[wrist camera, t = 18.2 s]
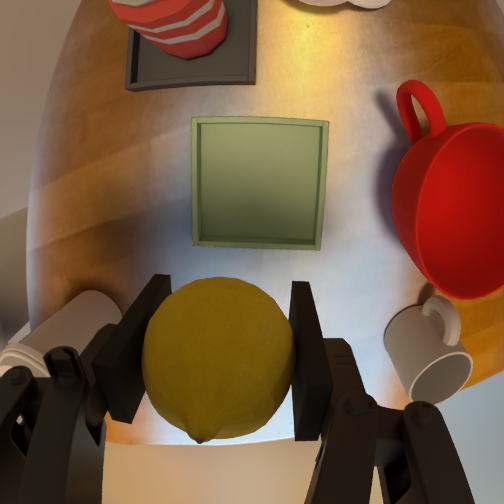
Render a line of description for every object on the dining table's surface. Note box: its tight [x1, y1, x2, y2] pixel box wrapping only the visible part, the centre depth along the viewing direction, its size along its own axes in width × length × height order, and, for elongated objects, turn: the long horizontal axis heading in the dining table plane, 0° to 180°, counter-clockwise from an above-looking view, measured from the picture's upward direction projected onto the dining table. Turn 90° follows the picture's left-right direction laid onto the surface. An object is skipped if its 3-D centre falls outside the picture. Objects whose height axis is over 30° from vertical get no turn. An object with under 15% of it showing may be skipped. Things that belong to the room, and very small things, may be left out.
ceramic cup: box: [391, 80, 504, 300], centre depth 21 cm, size 13×17×10 cm
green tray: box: [191, 117, 329, 251], centre depth 26 cm, size 11×11×2 cm
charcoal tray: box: [125, 0, 257, 92], centre depth 21 cm, size 11×11×2 cm
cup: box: [384, 295, 473, 406], centre depth 27 cm, size 7×10×9 cm
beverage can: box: [108, 0, 228, 59], centre depth 16 cm, size 6×6×12 cm
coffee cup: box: [0, 290, 122, 378], centre depth 26 cm, size 10×10×15 cm
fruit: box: [141, 277, 296, 444], centre depth 11 cm, size 6×6×8 cm
